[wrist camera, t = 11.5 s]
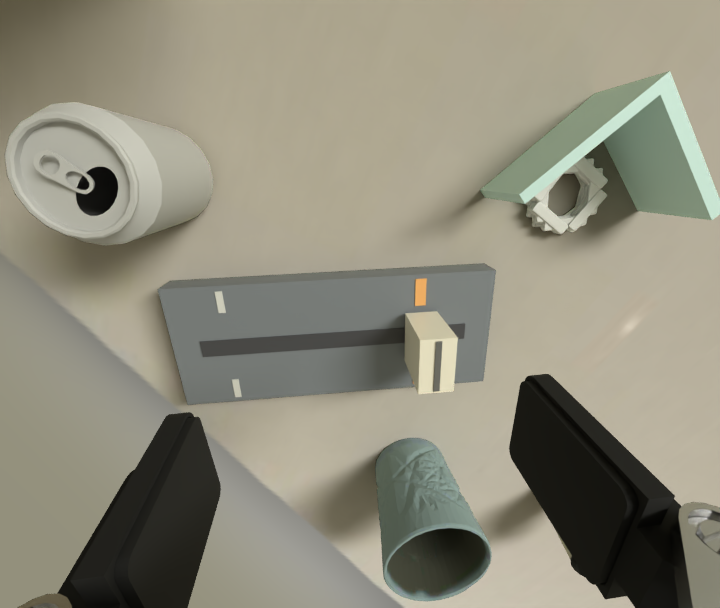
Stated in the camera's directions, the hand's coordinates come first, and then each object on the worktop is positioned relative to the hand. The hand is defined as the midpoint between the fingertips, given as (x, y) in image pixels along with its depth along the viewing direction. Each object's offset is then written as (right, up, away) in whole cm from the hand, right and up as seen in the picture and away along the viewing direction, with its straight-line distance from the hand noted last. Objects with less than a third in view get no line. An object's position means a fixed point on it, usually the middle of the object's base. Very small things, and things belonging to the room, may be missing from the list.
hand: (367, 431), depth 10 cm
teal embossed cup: (+6, -16, +33) cm, 37 cm away
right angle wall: (+19, +14, +23) cm, 33 cm away
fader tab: (+6, +1, +23) cm, 23 cm away
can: (-16, +15, +19) cm, 29 cm away
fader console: (-3, +1, +25) cm, 25 cm away
